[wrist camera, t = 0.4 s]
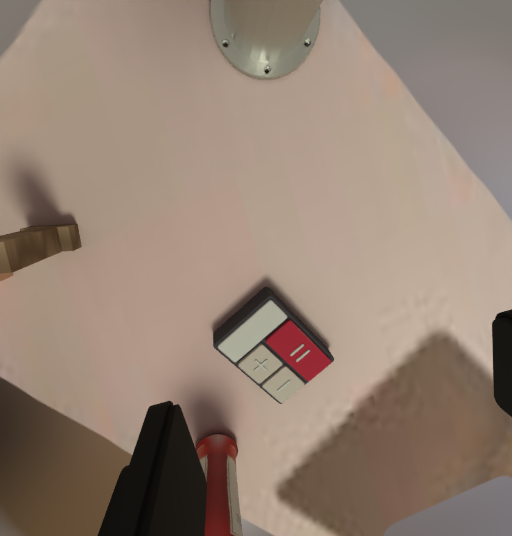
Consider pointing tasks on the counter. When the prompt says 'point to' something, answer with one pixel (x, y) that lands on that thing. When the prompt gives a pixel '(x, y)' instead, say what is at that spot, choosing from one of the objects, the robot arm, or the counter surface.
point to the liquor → (220, 485)
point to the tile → (5, 276)
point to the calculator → (272, 346)
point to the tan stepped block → (36, 245)
